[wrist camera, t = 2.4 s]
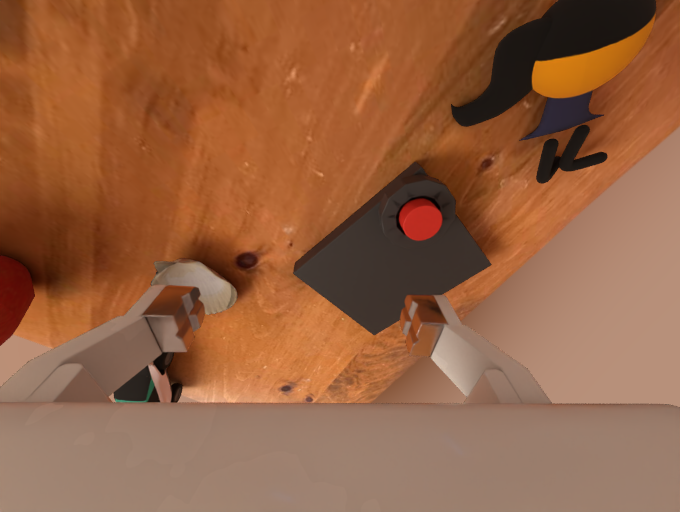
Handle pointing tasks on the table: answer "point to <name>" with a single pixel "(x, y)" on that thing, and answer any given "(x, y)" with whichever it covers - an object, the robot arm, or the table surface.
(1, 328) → the apple
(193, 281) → the seashell
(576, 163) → the character figurine
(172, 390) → the toy car
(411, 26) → the table surface
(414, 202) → the button
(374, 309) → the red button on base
